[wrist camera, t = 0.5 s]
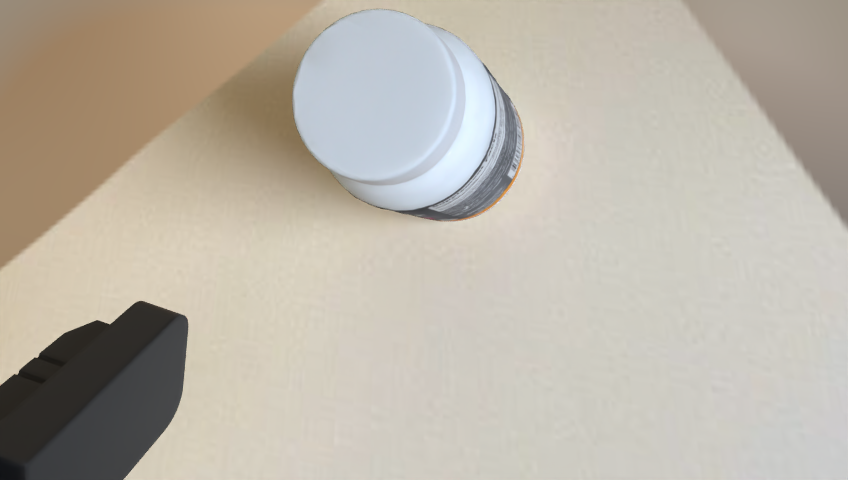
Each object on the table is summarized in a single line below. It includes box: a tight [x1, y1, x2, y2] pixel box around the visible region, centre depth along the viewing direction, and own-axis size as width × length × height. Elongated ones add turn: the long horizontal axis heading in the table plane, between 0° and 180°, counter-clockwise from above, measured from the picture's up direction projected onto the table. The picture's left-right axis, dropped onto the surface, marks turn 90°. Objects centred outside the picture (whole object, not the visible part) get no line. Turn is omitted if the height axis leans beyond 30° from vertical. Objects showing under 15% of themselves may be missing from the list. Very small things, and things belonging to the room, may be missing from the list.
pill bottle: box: [292, 9, 525, 221], centre depth 26 cm, size 6×6×10 cm
